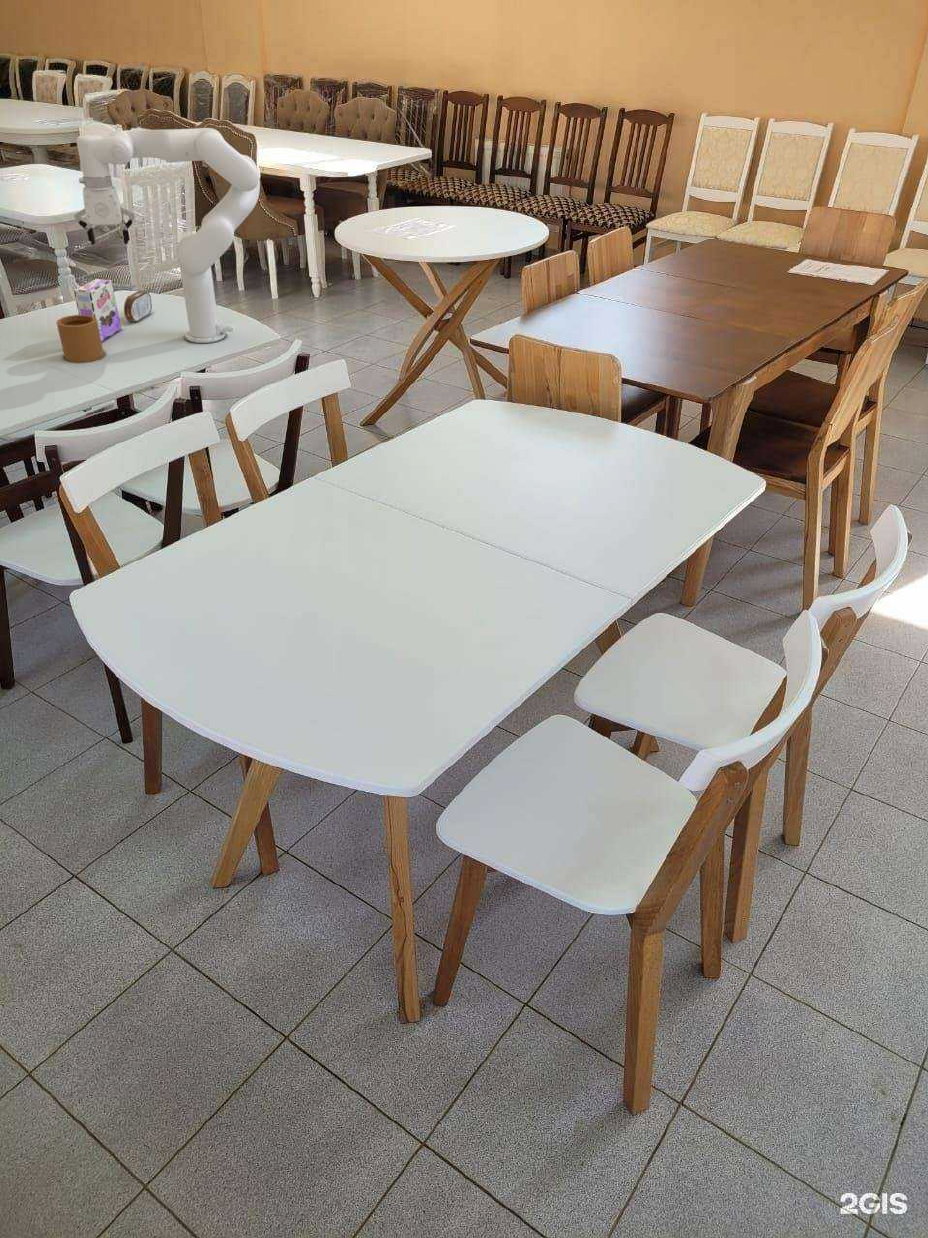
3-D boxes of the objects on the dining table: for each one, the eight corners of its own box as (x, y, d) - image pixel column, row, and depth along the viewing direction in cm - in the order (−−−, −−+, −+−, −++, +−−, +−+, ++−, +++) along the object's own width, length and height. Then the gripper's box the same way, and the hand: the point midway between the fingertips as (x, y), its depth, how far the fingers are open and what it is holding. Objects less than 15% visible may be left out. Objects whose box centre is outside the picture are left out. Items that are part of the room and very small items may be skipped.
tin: (147, 311, 321) (142, 286, 316) (155, 312, 321) (151, 287, 316) (125, 324, 309) (120, 299, 304) (134, 325, 309) (129, 300, 304)
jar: (106, 348, 290) (98, 314, 283) (100, 361, 280) (93, 325, 274) (68, 350, 288) (60, 315, 281) (62, 362, 279) (53, 327, 272)
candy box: (100, 343, 294) (89, 290, 284) (83, 341, 295) (72, 289, 285) (122, 329, 305) (112, 279, 295) (106, 328, 306) (95, 277, 296)
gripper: (65, 184, 264) (78, 247, 274) (127, 184, 266) (138, 245, 276) (69, 179, 270) (82, 240, 280) (130, 179, 272) (140, 239, 282)
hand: (110, 243), depth 278 cm, fingers open, 9 cm apart
